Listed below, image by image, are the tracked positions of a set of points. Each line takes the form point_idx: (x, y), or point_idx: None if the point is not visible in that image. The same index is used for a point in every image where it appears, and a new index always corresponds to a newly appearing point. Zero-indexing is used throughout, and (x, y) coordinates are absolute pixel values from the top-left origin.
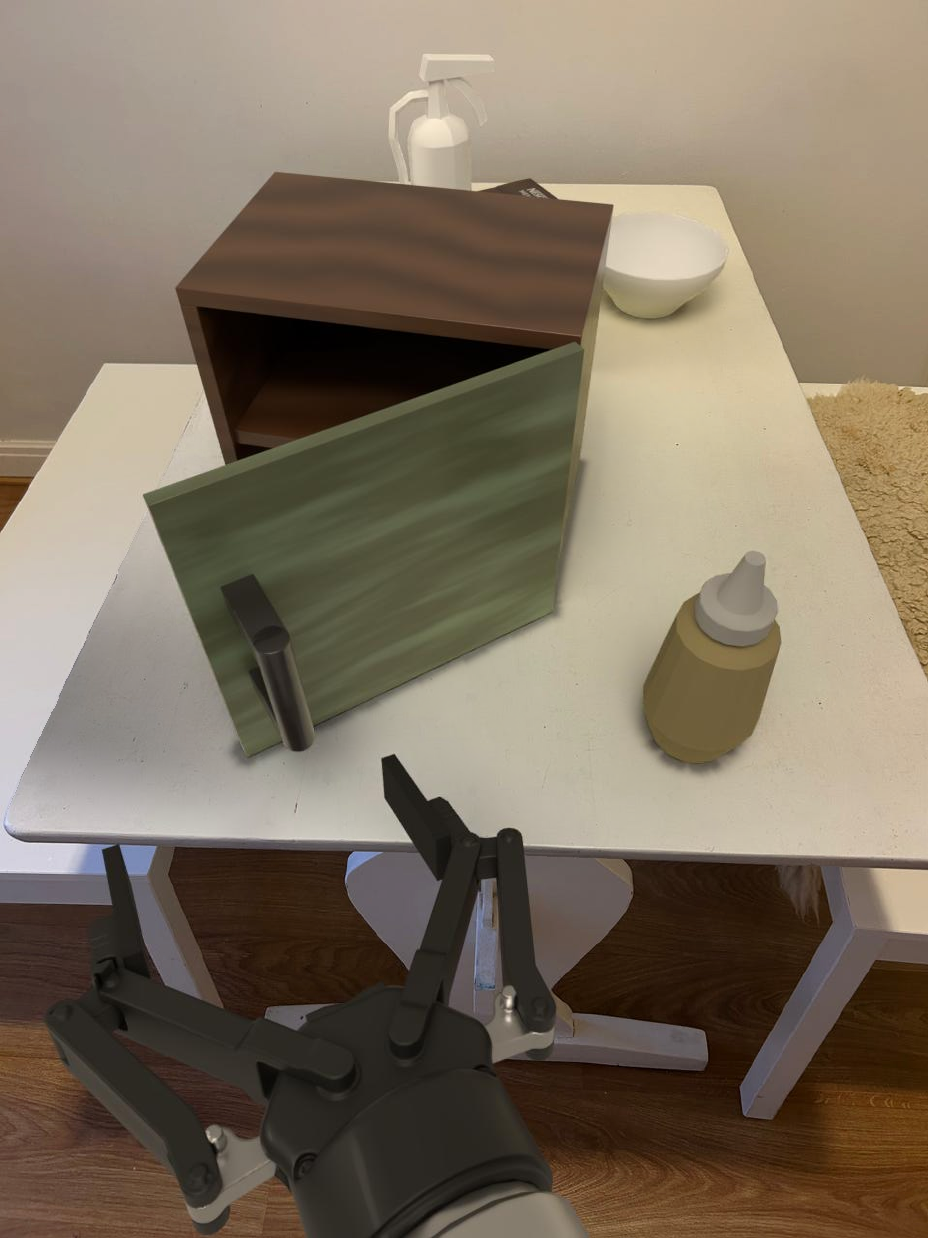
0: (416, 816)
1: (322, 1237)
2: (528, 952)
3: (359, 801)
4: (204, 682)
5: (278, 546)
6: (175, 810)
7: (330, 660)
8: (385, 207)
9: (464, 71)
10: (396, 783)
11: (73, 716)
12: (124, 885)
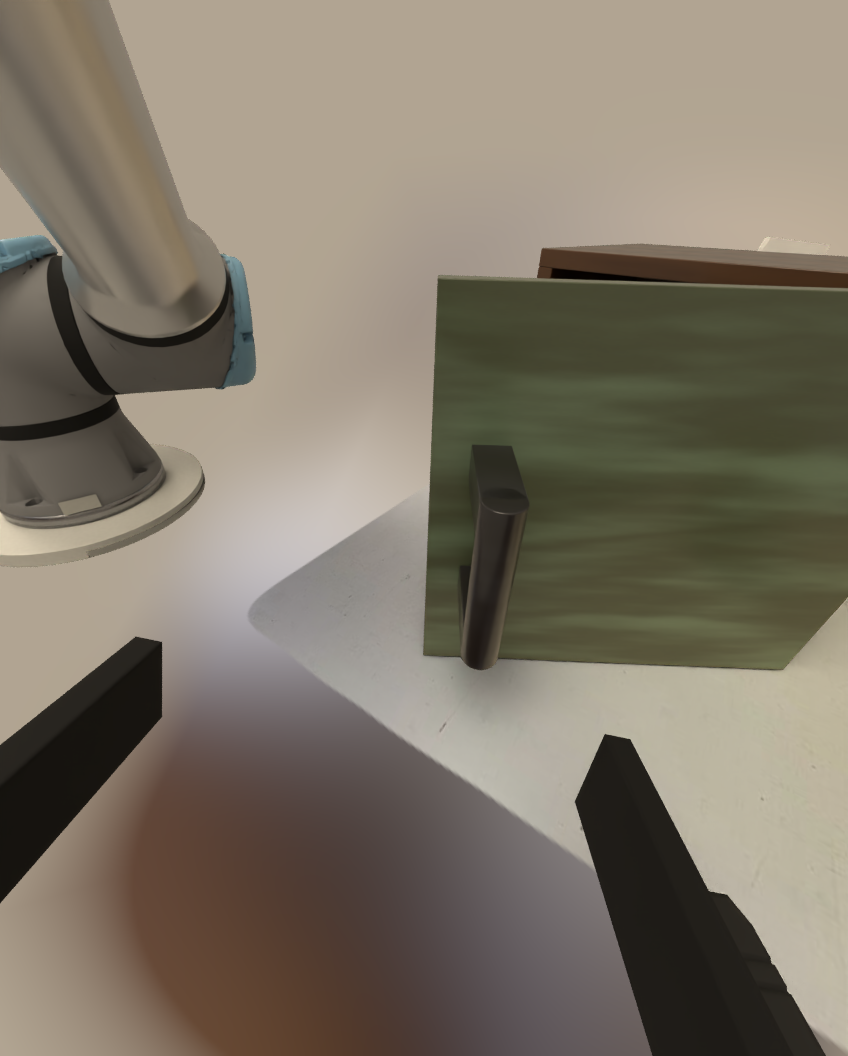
0: (678, 927)
1: None
2: None
3: (507, 759)
4: (422, 581)
5: (553, 423)
6: (343, 668)
7: (540, 598)
8: (742, 252)
9: (798, 250)
10: (630, 802)
11: (322, 561)
12: (77, 710)
